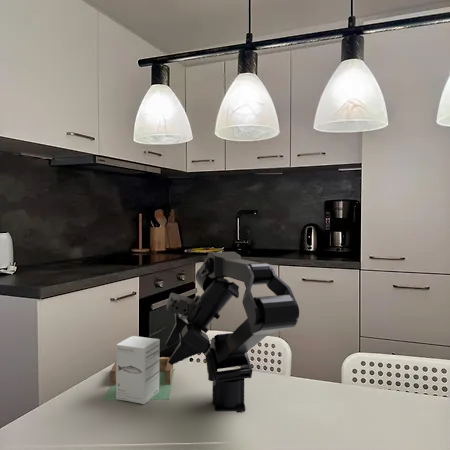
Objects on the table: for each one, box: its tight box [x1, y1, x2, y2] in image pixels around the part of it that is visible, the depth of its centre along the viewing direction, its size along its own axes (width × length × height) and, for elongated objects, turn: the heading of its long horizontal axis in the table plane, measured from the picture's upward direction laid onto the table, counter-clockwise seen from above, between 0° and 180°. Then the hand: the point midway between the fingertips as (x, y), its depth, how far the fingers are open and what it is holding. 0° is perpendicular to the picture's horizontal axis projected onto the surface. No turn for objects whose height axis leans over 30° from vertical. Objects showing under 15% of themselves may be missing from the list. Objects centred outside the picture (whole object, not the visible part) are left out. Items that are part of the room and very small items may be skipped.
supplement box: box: [115, 335, 161, 405], centre depth 96 cm, size 7×7×13 cm
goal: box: [109, 356, 174, 387], centre depth 107 cm, size 14×9×4 cm, turn 92°
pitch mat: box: [102, 368, 176, 402], centre depth 103 cm, size 14×18×1 cm
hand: (168, 354), depth 97 cm, fingers open, 9 cm apart
